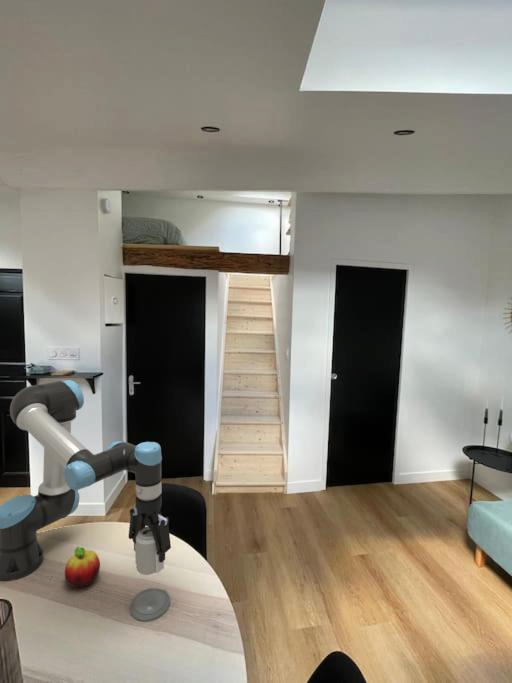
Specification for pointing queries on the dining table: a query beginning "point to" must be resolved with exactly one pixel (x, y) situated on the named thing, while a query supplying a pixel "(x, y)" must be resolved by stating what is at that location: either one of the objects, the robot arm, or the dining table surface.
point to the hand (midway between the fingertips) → (149, 565)
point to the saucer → (149, 604)
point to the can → (145, 552)
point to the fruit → (82, 567)
